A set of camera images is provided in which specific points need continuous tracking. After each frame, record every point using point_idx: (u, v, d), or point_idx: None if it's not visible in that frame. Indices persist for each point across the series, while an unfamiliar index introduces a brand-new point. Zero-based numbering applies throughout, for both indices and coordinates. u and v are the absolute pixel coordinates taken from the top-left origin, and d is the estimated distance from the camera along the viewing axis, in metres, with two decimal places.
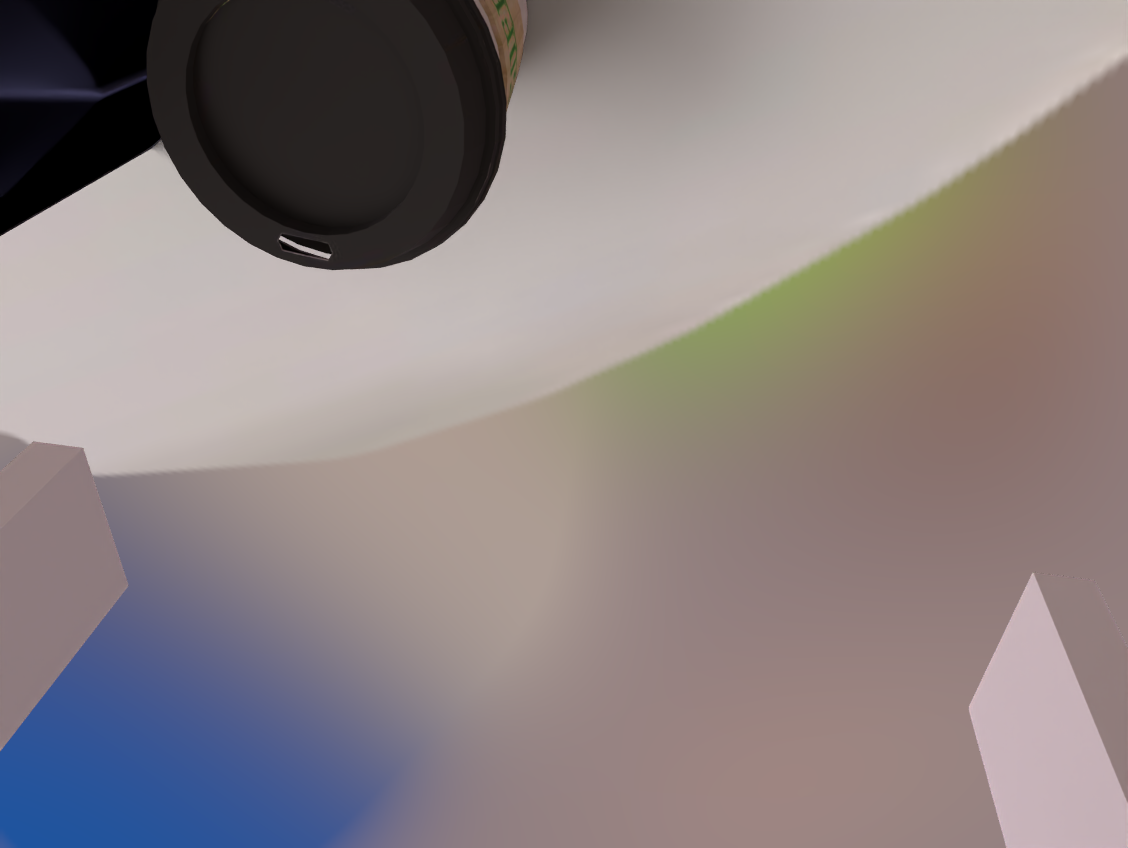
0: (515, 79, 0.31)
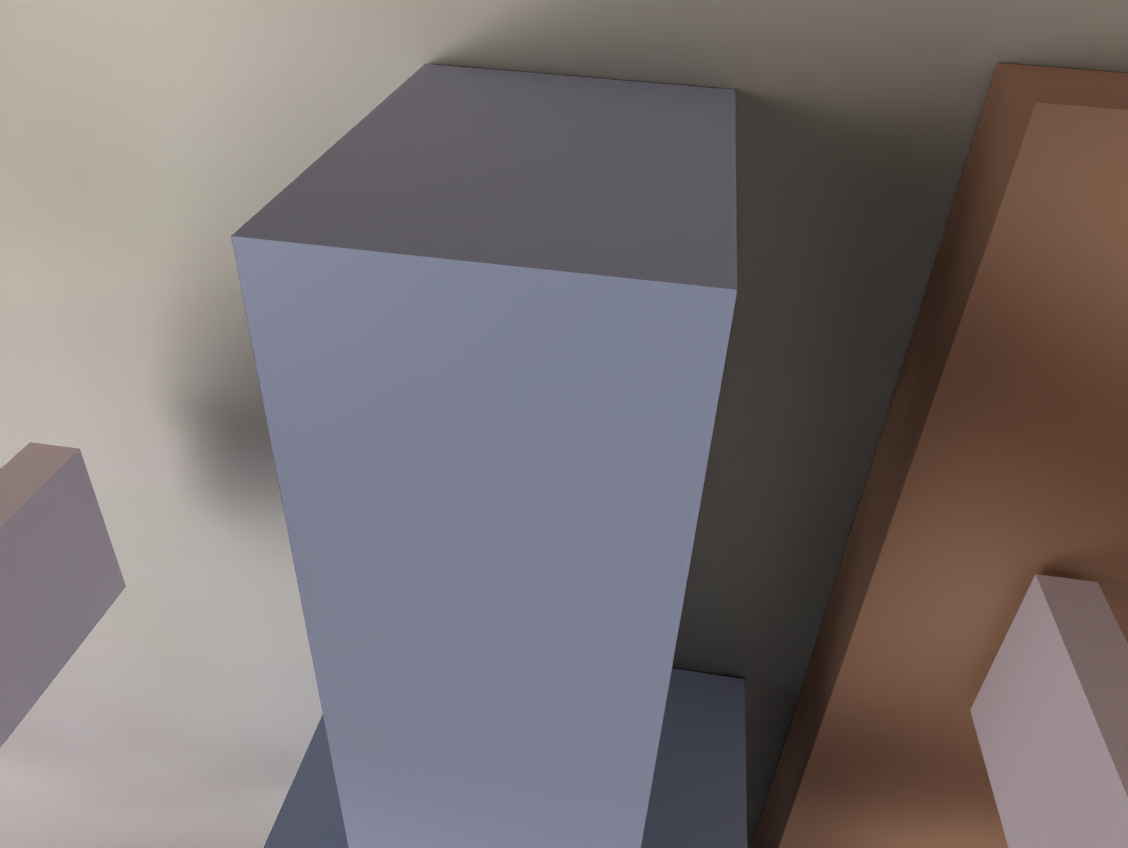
0: None
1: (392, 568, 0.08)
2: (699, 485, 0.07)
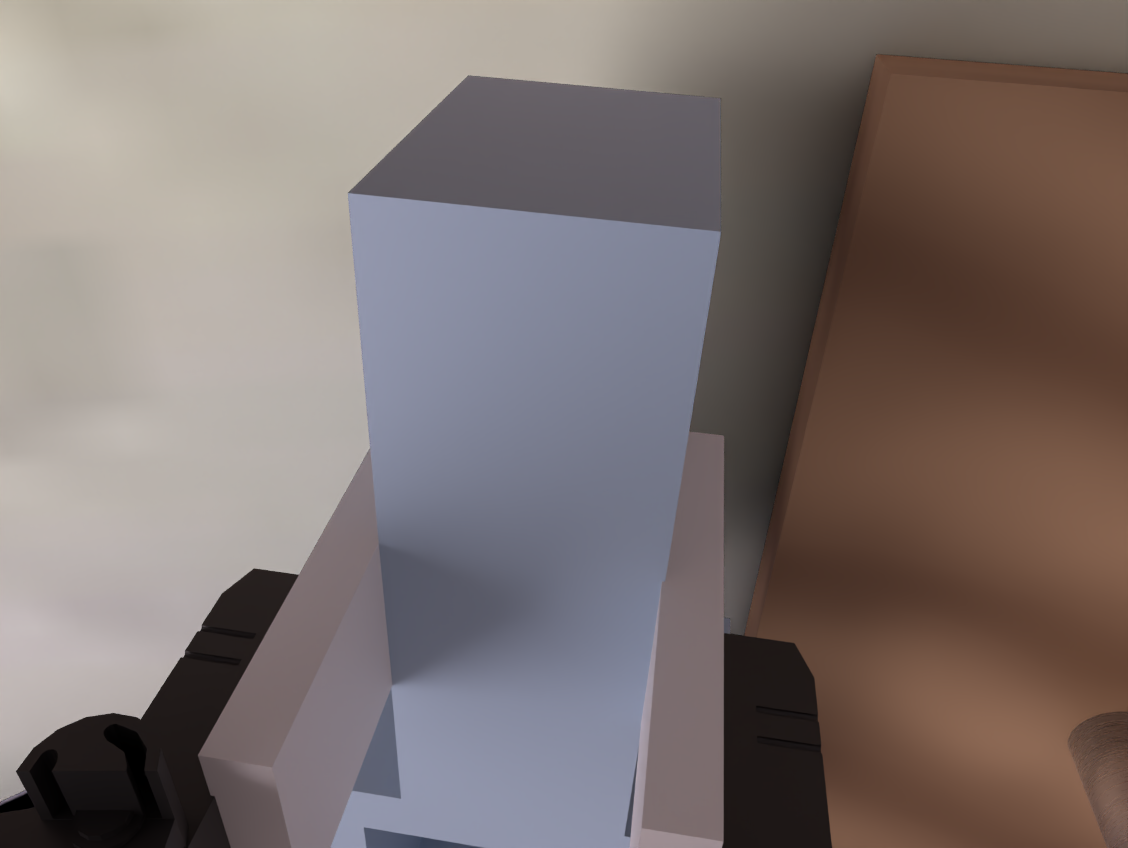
0: None
1: (450, 465, 0.10)
2: (692, 388, 0.09)
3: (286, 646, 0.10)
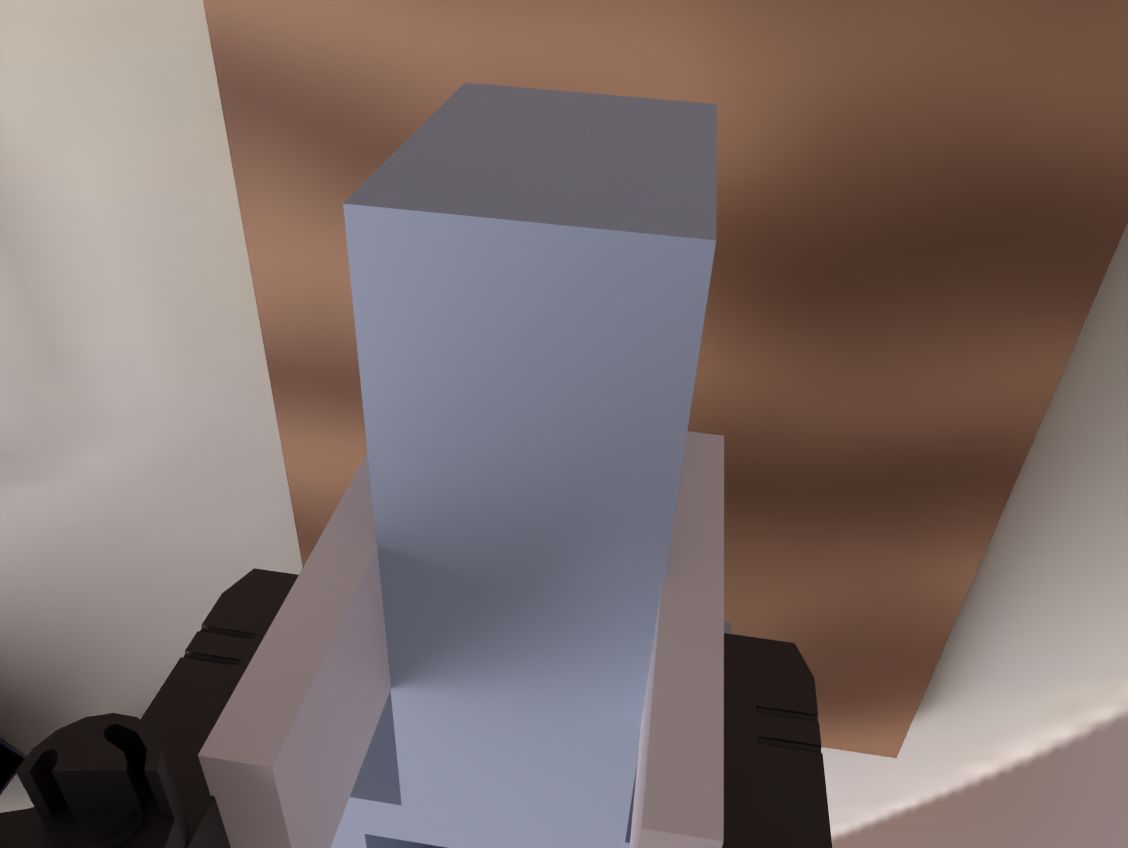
0: None
1: (447, 473, 0.10)
2: (689, 396, 0.09)
3: (286, 646, 0.10)
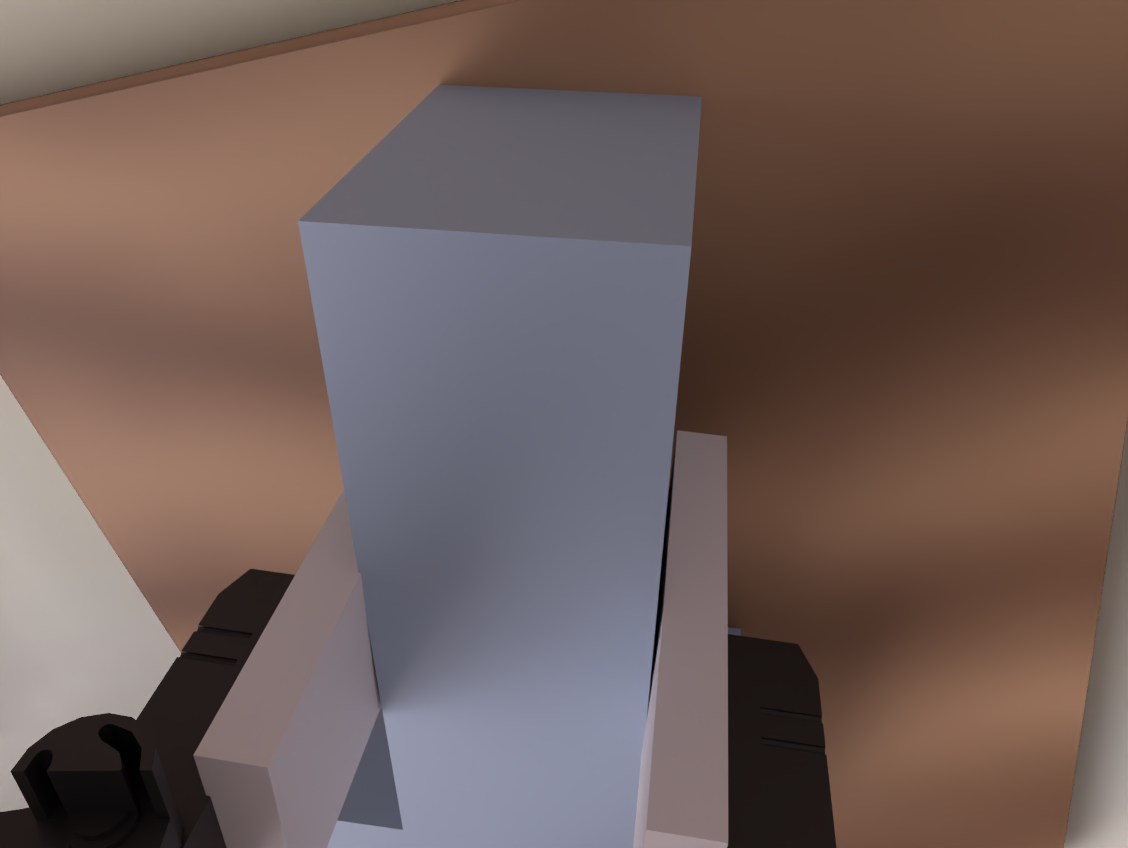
0: None
1: (426, 496, 0.10)
2: (672, 410, 0.09)
3: (282, 646, 0.10)
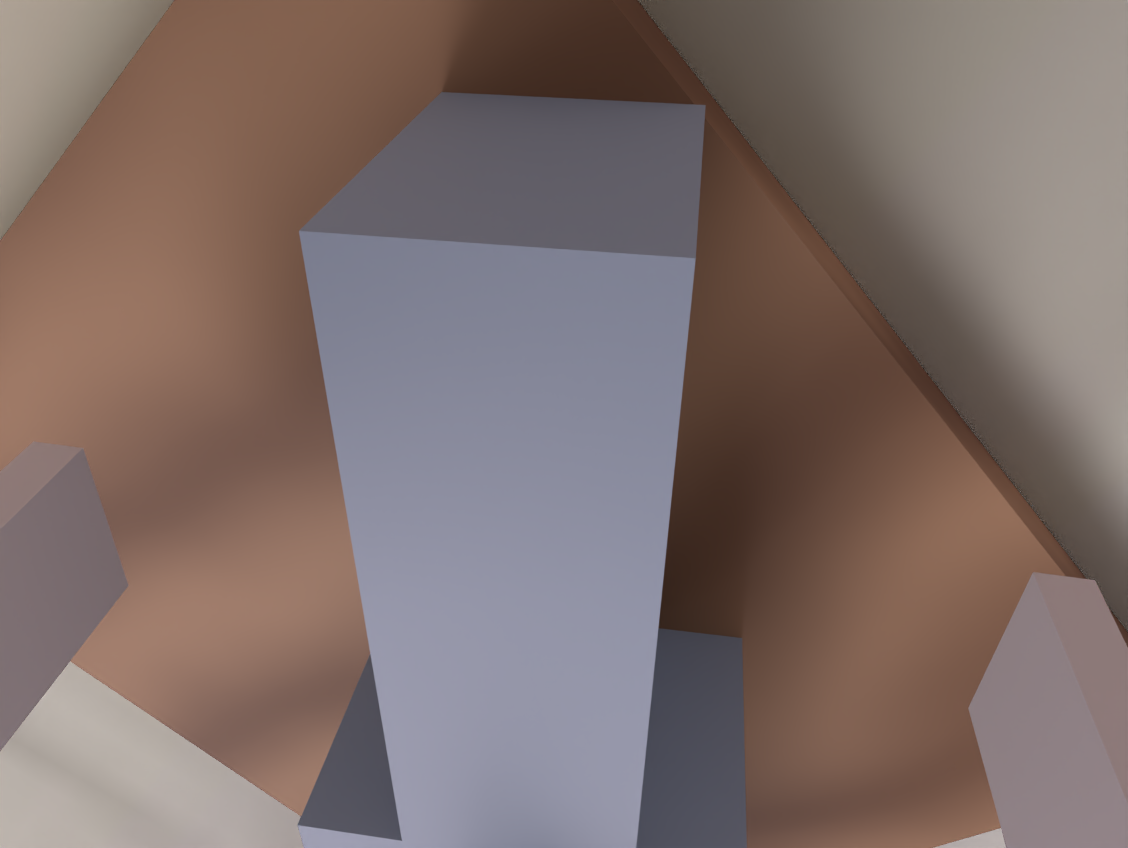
0: None
1: (426, 506, 0.10)
2: (676, 422, 0.09)
3: None
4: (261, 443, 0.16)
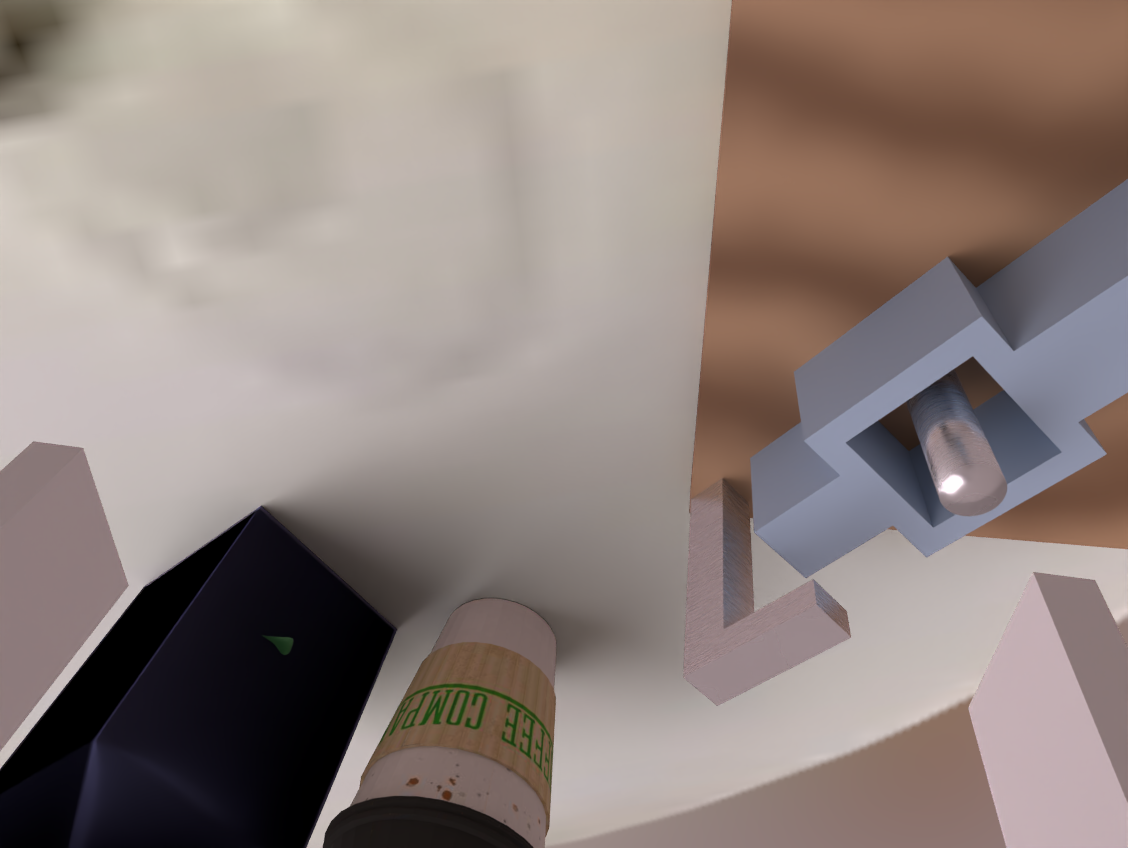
0: None
1: None
2: None
3: None
4: (1003, 142, 0.30)
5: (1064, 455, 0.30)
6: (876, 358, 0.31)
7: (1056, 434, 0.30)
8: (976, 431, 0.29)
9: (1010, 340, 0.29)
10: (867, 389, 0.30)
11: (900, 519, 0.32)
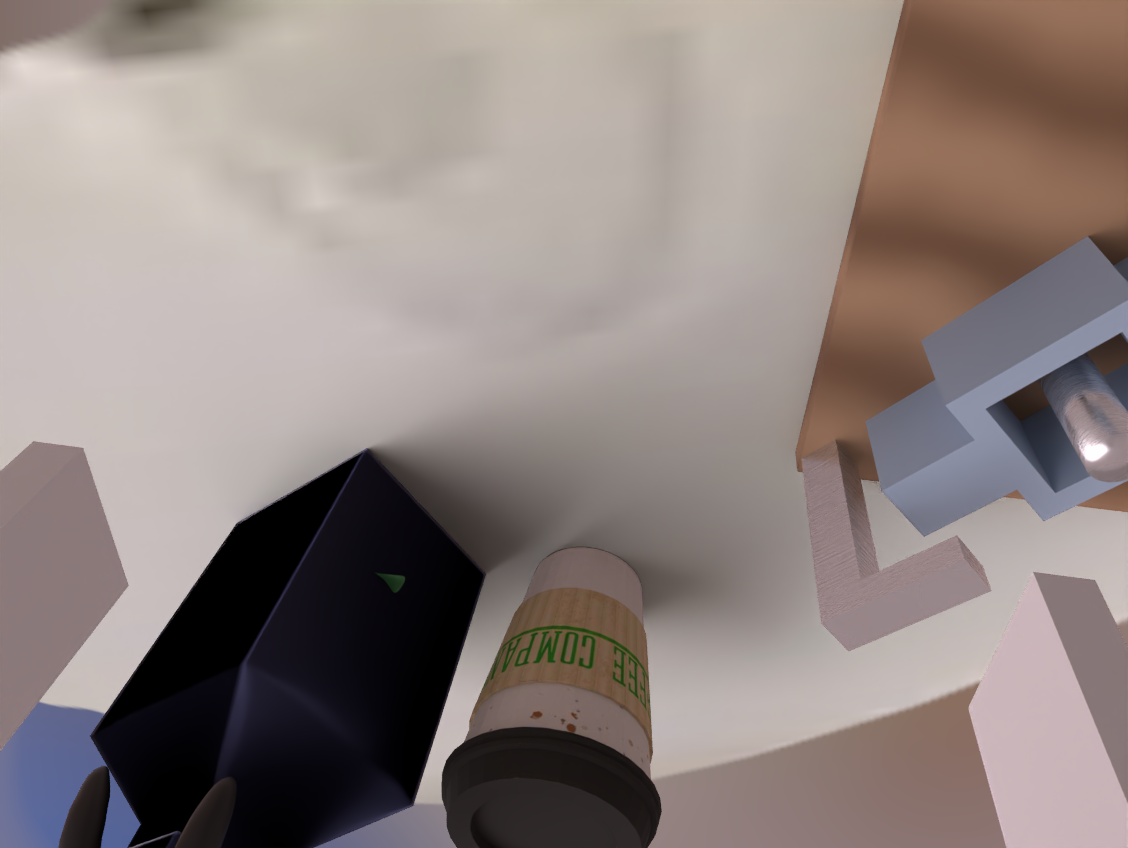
0: None
1: None
2: None
3: None
4: None
5: None
6: (1018, 330, 0.33)
7: None
8: (1118, 403, 0.31)
9: None
10: (1013, 359, 0.32)
11: (1025, 484, 0.34)
